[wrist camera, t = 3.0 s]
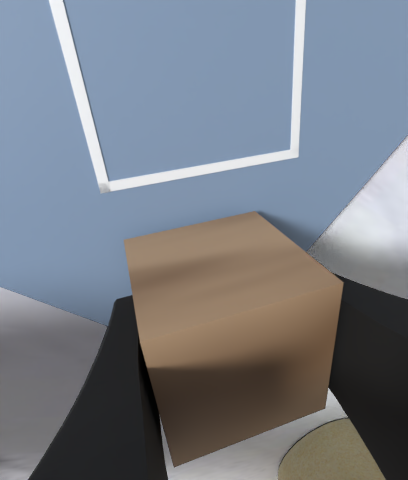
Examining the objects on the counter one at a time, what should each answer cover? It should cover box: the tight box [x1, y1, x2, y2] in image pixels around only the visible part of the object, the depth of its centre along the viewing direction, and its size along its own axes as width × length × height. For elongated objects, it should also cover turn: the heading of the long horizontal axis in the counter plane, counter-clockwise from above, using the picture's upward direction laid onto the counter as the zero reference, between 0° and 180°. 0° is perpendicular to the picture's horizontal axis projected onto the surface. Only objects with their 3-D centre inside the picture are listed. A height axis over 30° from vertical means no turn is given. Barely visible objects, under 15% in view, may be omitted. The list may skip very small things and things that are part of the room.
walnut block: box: [124, 211, 344, 467], centre depth 9 cm, size 4×4×4 cm
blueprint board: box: [0, 0, 408, 326], centre depth 9 cm, size 18×16×1 cm
